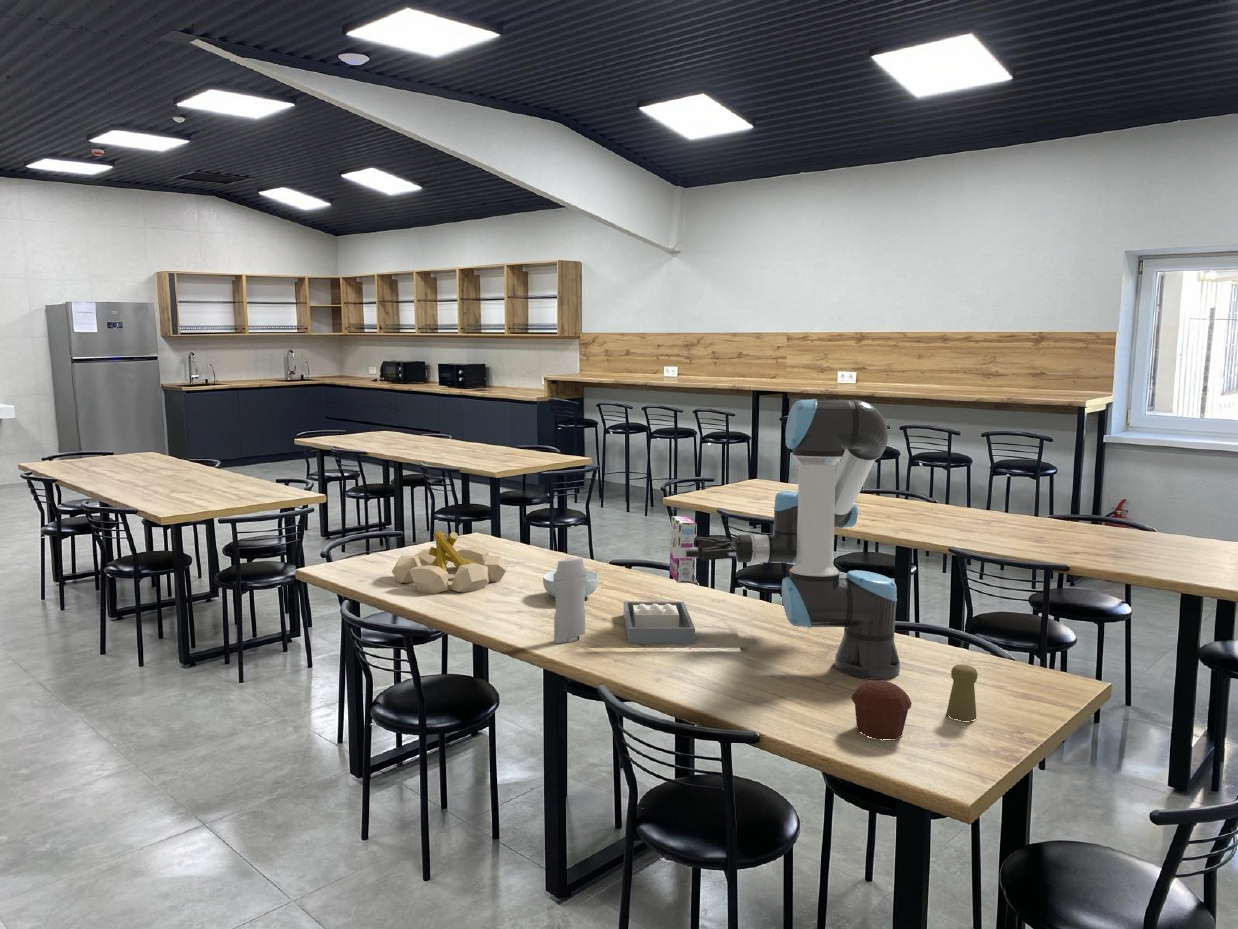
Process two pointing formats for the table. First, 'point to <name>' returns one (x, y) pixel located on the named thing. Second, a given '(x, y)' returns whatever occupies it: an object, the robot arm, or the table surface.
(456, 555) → the campfire
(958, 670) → the cork
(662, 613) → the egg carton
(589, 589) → the cereal bowl
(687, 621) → the tote
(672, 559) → the candy bar box
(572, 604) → the tall pale column
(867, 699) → the muffin
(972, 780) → the table surface
